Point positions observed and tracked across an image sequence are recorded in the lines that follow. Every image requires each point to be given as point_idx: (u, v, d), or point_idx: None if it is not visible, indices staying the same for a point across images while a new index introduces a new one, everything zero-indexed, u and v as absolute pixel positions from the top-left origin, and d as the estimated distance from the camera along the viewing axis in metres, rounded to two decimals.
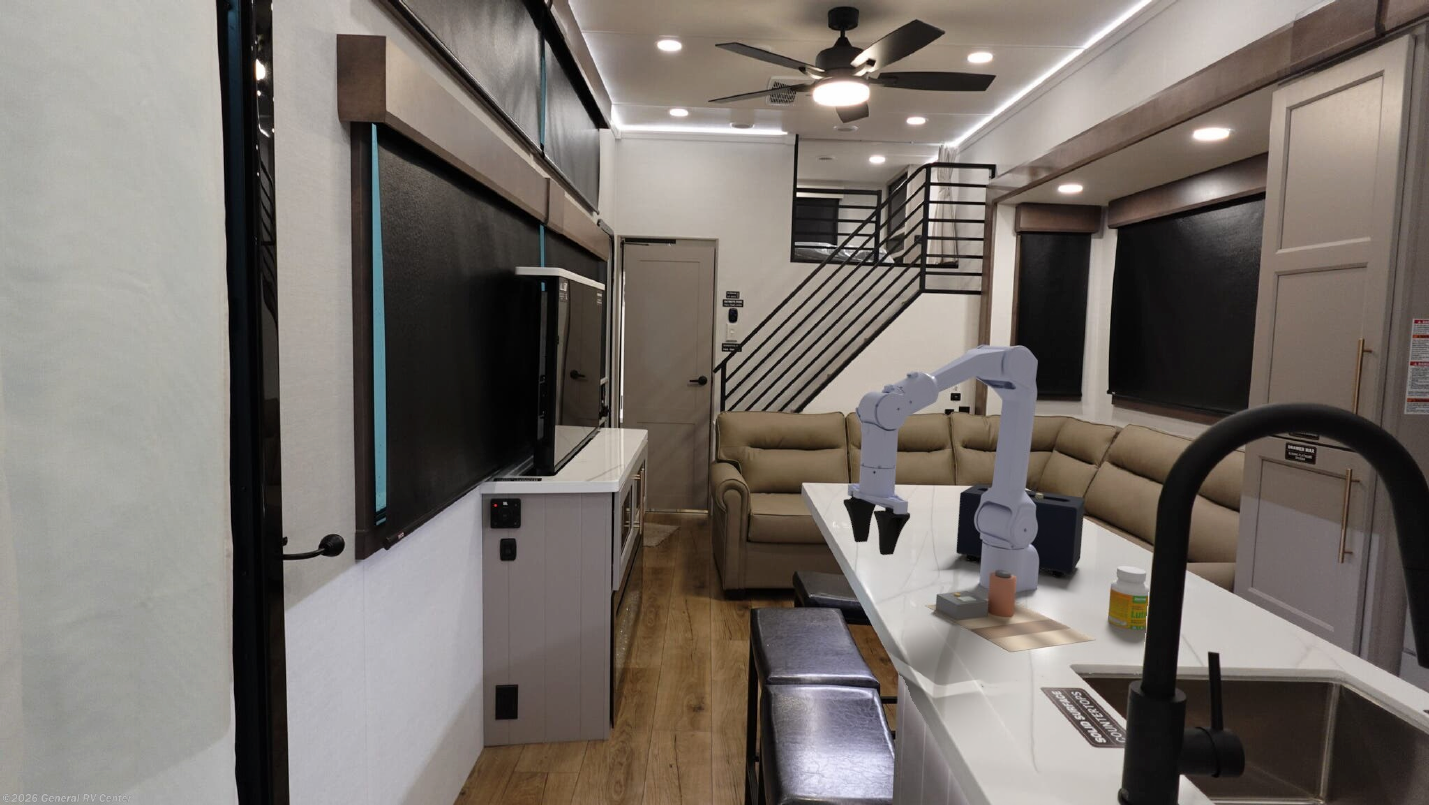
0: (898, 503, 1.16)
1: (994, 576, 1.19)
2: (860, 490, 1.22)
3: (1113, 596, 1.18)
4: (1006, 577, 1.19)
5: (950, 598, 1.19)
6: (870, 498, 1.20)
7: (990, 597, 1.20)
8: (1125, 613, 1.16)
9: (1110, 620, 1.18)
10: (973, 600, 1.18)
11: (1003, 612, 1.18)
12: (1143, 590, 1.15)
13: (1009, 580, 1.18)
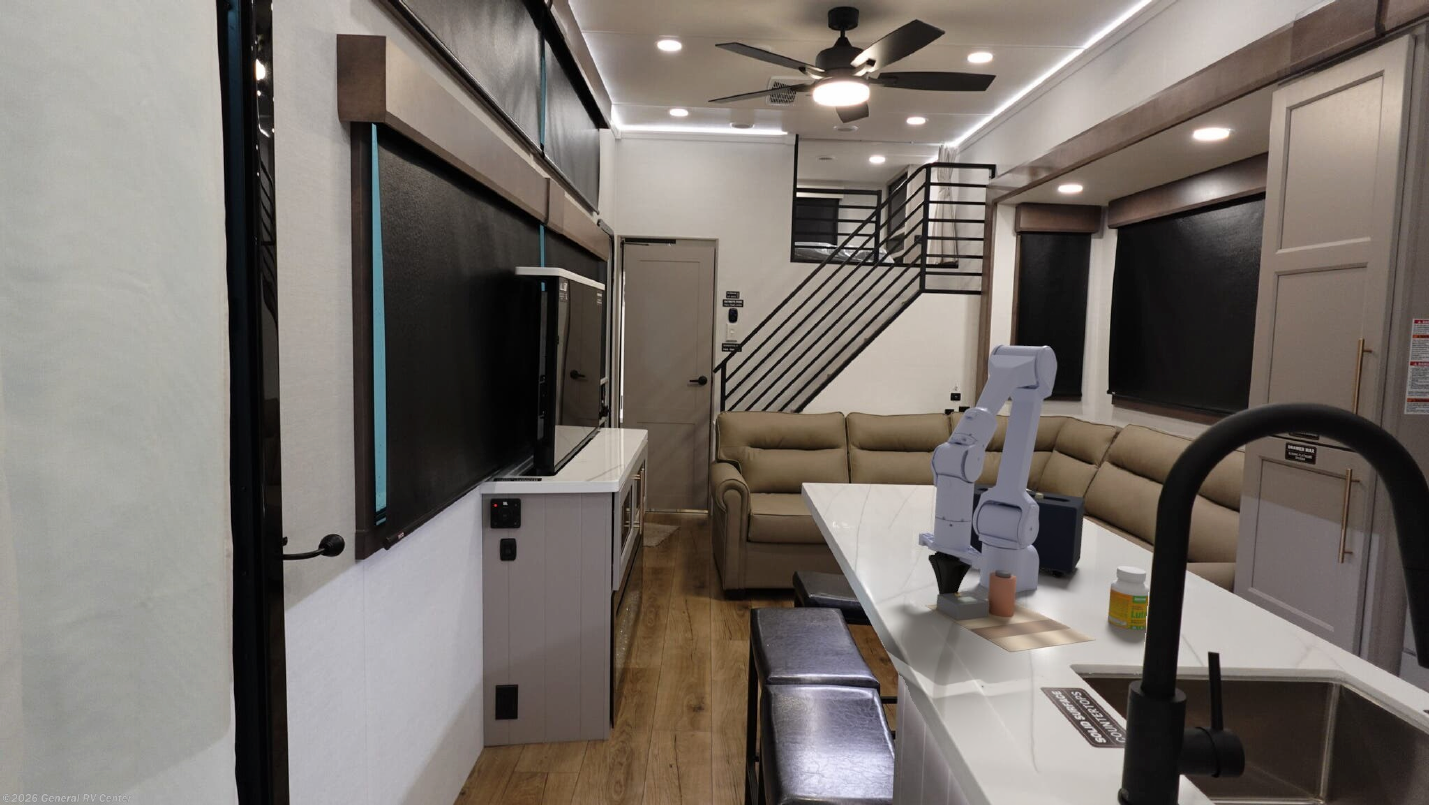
0: (978, 558, 1.15)
1: (994, 576, 1.19)
2: (935, 542, 1.21)
3: (1113, 596, 1.18)
4: (1006, 577, 1.19)
5: (951, 598, 1.18)
6: (947, 551, 1.19)
7: (990, 597, 1.20)
8: (1125, 613, 1.16)
9: (1110, 620, 1.18)
10: (974, 600, 1.18)
11: (1003, 612, 1.18)
12: (1143, 590, 1.15)
13: (1009, 580, 1.18)
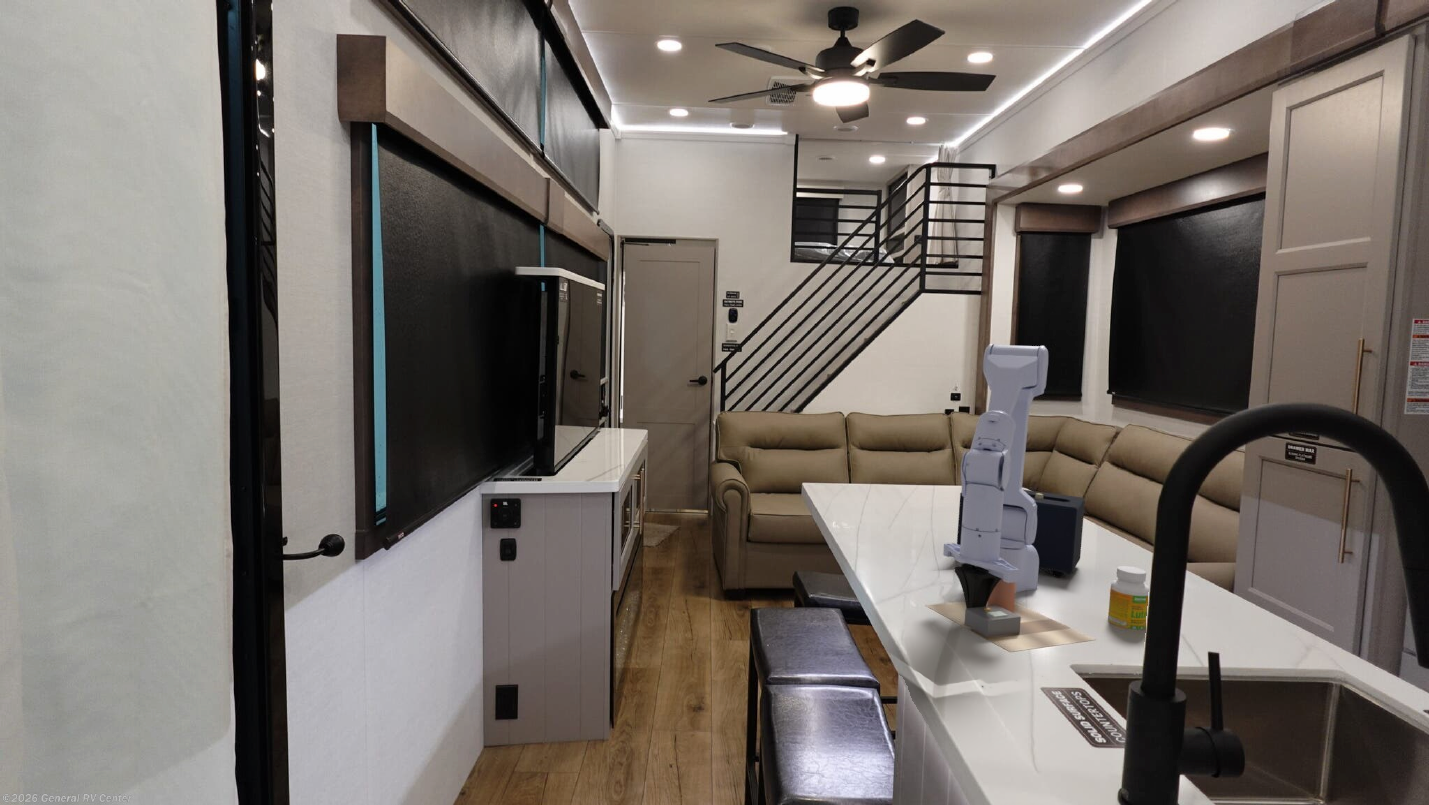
0: (1009, 571, 1.09)
1: None
2: (962, 553, 1.15)
3: (1113, 596, 1.18)
4: None
5: (980, 613, 1.12)
6: (975, 563, 1.13)
7: (990, 597, 1.20)
8: (1125, 613, 1.16)
9: (1110, 620, 1.18)
10: (1005, 615, 1.11)
11: None
12: (1143, 590, 1.15)
13: None
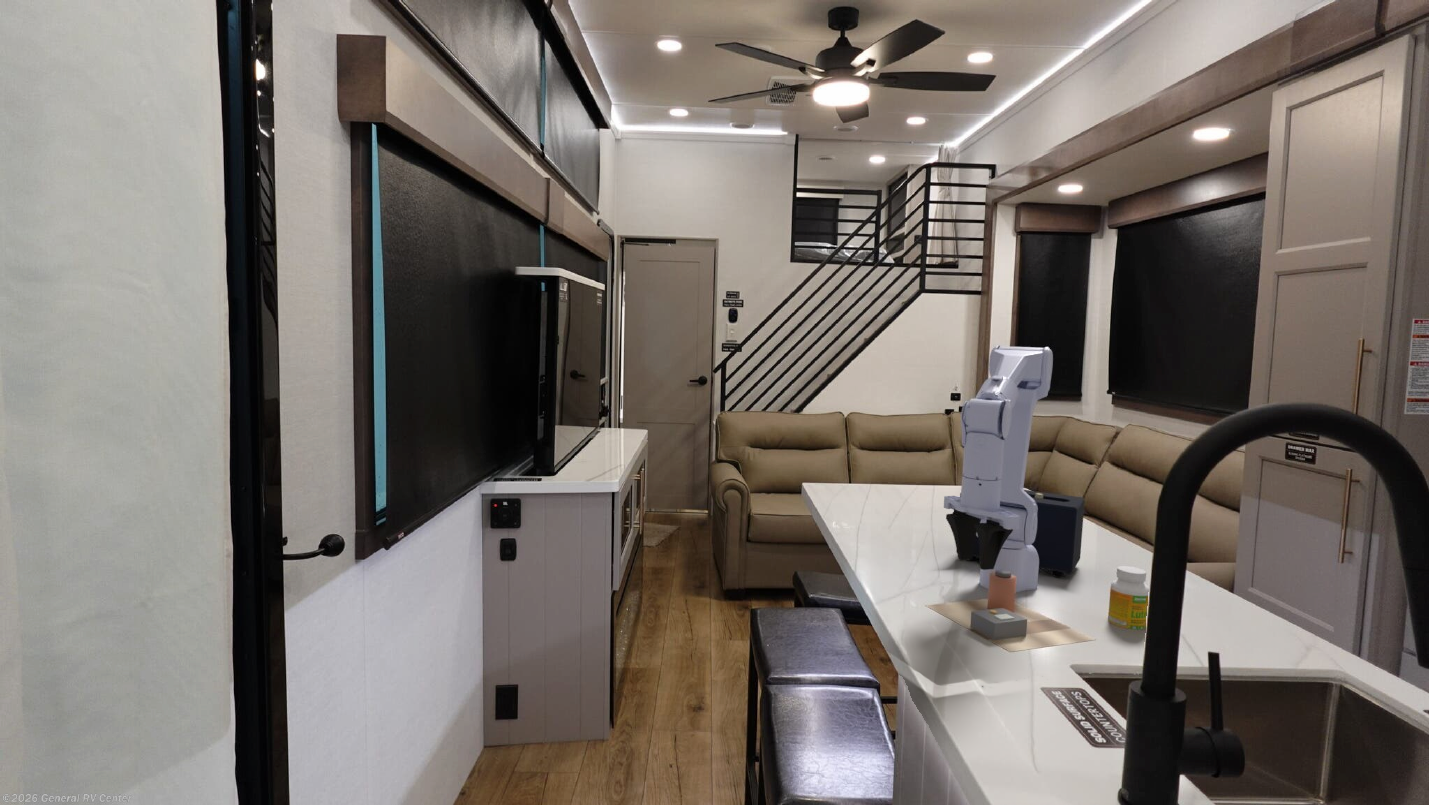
0: (1009, 518, 1.09)
1: (994, 576, 1.19)
2: (963, 503, 1.15)
3: (1113, 596, 1.18)
4: (1006, 577, 1.19)
5: (986, 616, 1.11)
6: (976, 512, 1.13)
7: (990, 597, 1.20)
8: (1125, 613, 1.16)
9: (1110, 620, 1.18)
10: (1011, 618, 1.10)
11: None
12: (1143, 590, 1.15)
13: (1009, 580, 1.18)
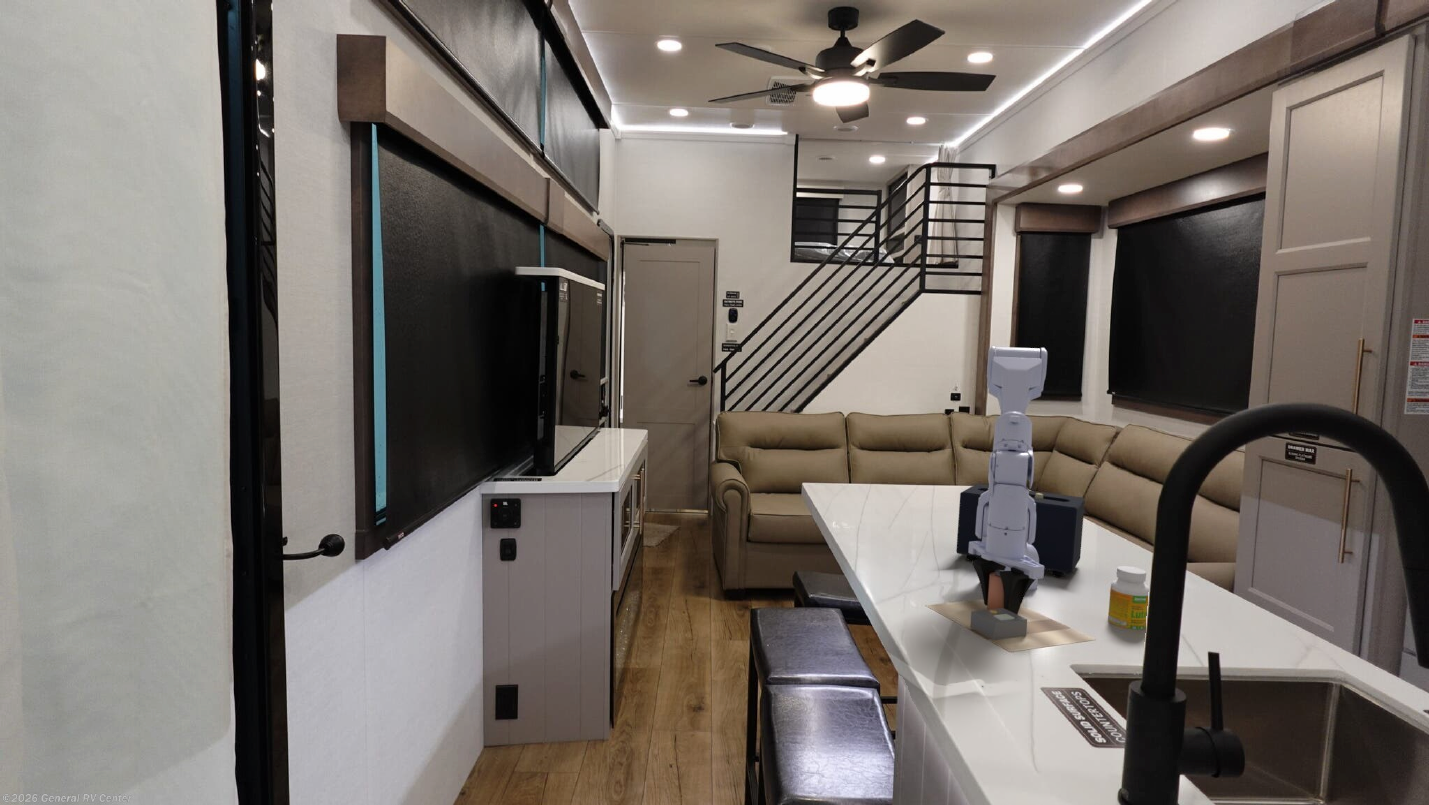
0: (1035, 568, 1.13)
1: (994, 576, 1.19)
2: (989, 551, 1.19)
3: (1113, 596, 1.18)
4: None
5: (986, 616, 1.11)
6: (1001, 560, 1.17)
7: (990, 597, 1.20)
8: (1125, 613, 1.16)
9: (1110, 620, 1.18)
10: (1011, 618, 1.10)
11: None
12: (1143, 590, 1.15)
13: None
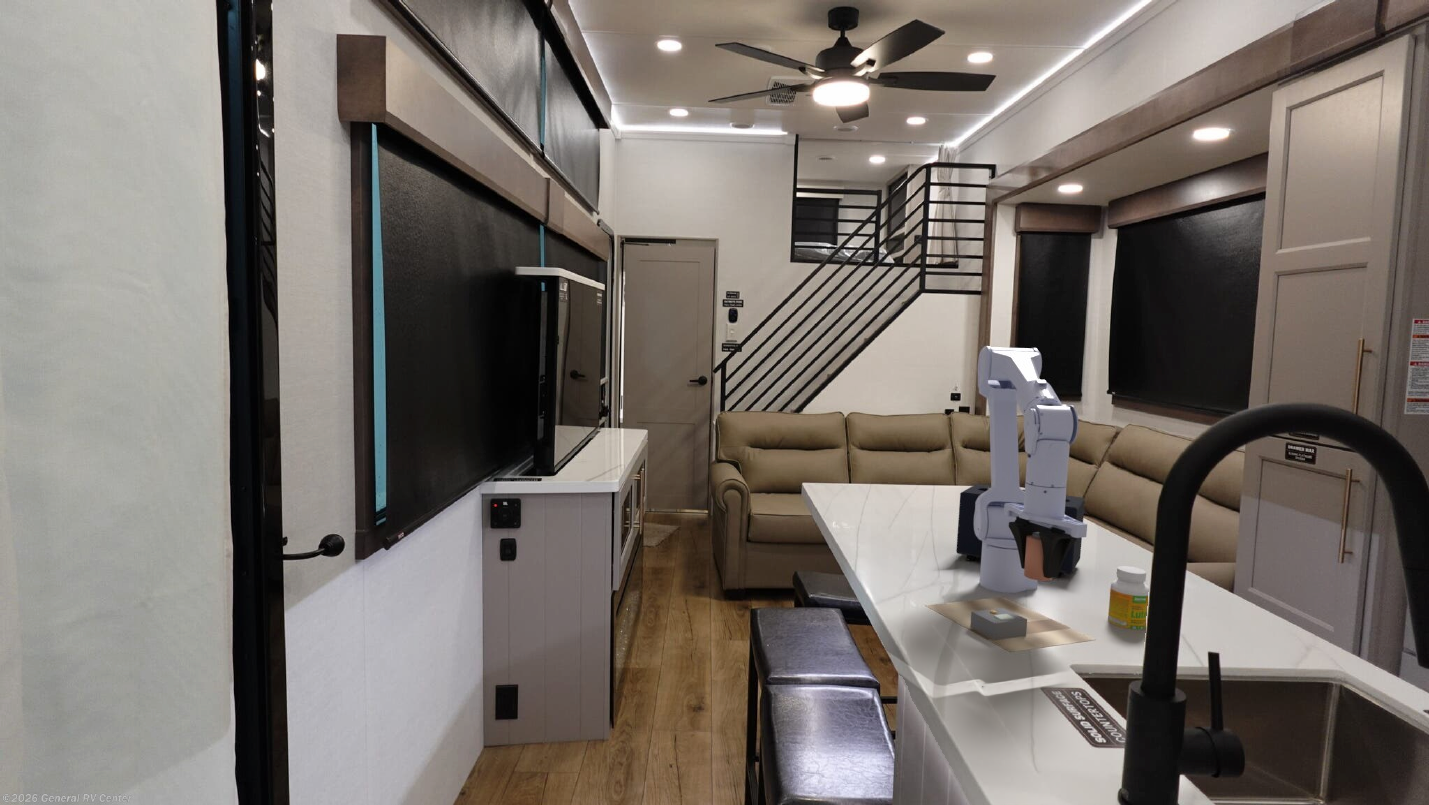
0: (1078, 526, 1.07)
1: (1031, 538, 1.14)
2: (1027, 511, 1.13)
3: (1113, 596, 1.18)
4: None
5: (986, 616, 1.11)
6: (1041, 520, 1.11)
7: (1027, 560, 1.14)
8: (1125, 613, 1.16)
9: (1110, 620, 1.18)
10: (1011, 618, 1.10)
11: (1041, 575, 1.13)
12: (1143, 590, 1.15)
13: None
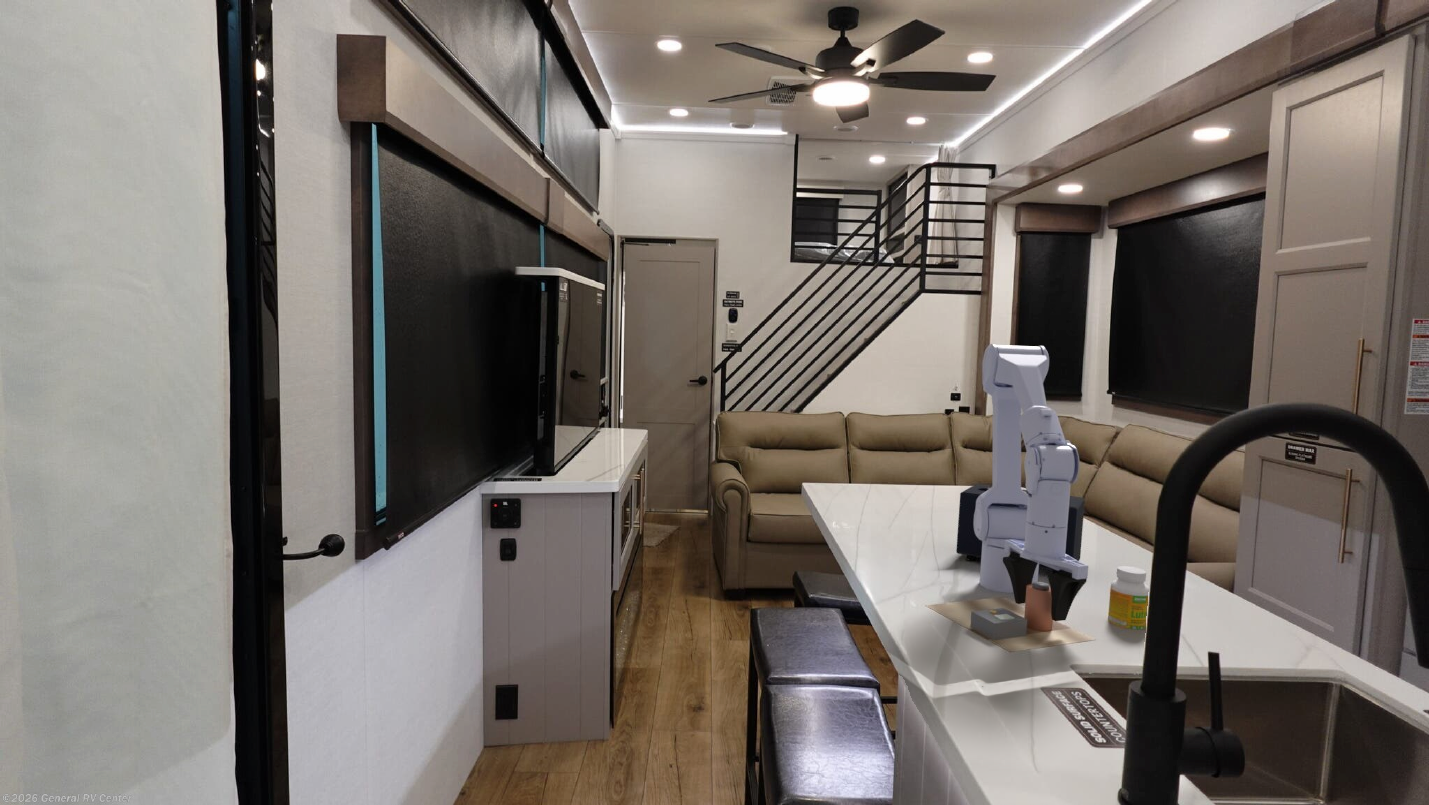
0: (1079, 567, 1.07)
1: (1031, 588, 1.14)
2: (1028, 550, 1.13)
3: (1113, 596, 1.18)
4: (1044, 589, 1.13)
5: (986, 616, 1.11)
6: (1042, 560, 1.11)
7: (1027, 610, 1.14)
8: (1125, 613, 1.16)
9: (1110, 620, 1.18)
10: (1011, 618, 1.10)
11: (1041, 626, 1.13)
12: (1143, 590, 1.15)
13: (1047, 593, 1.12)
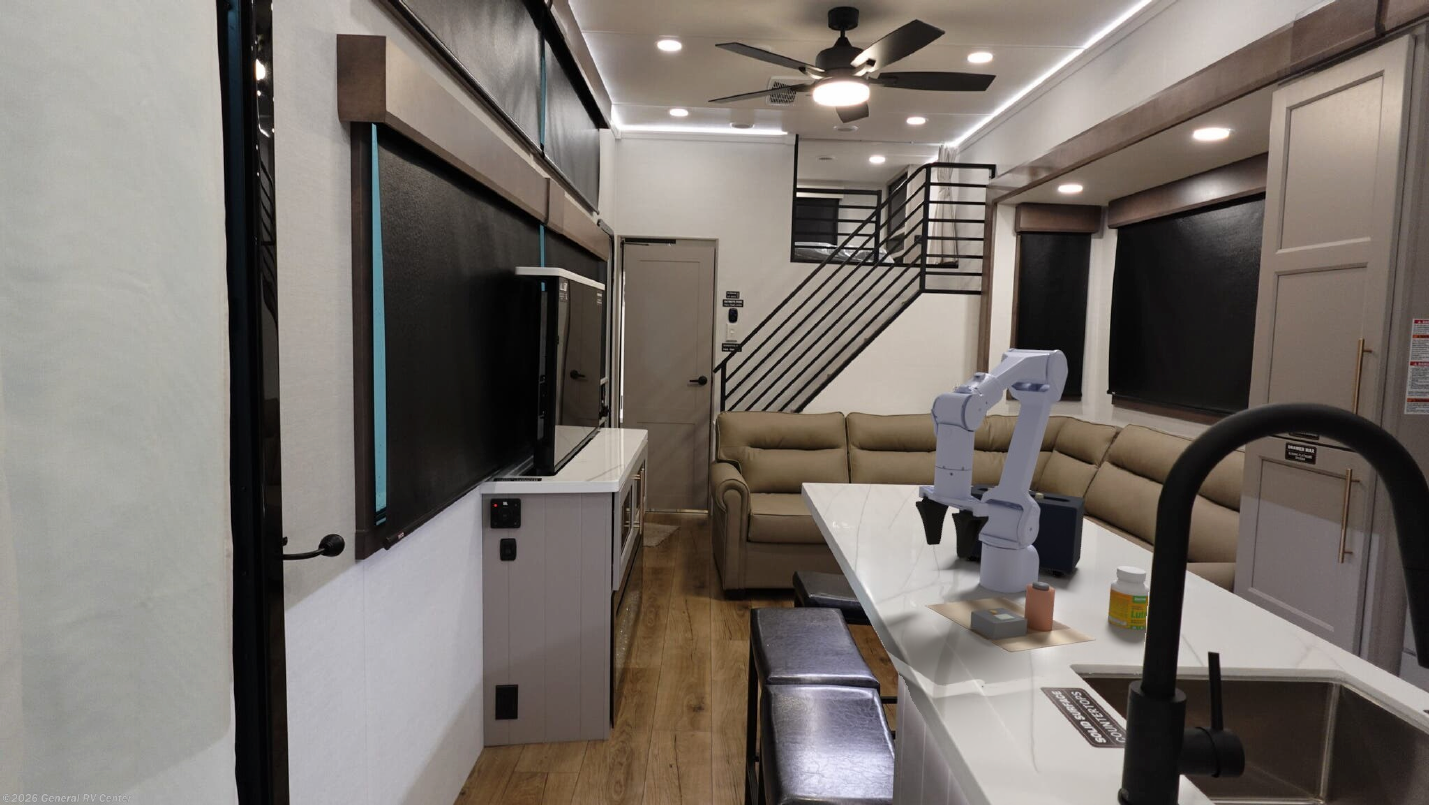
0: (978, 505, 1.14)
1: (1031, 588, 1.14)
2: (936, 492, 1.20)
3: (1113, 596, 1.18)
4: (1044, 589, 1.13)
5: (986, 616, 1.11)
6: (947, 500, 1.18)
7: (1027, 610, 1.14)
8: (1125, 613, 1.16)
9: (1110, 620, 1.18)
10: (1011, 618, 1.10)
11: (1041, 626, 1.13)
12: (1143, 590, 1.15)
13: (1047, 593, 1.12)
